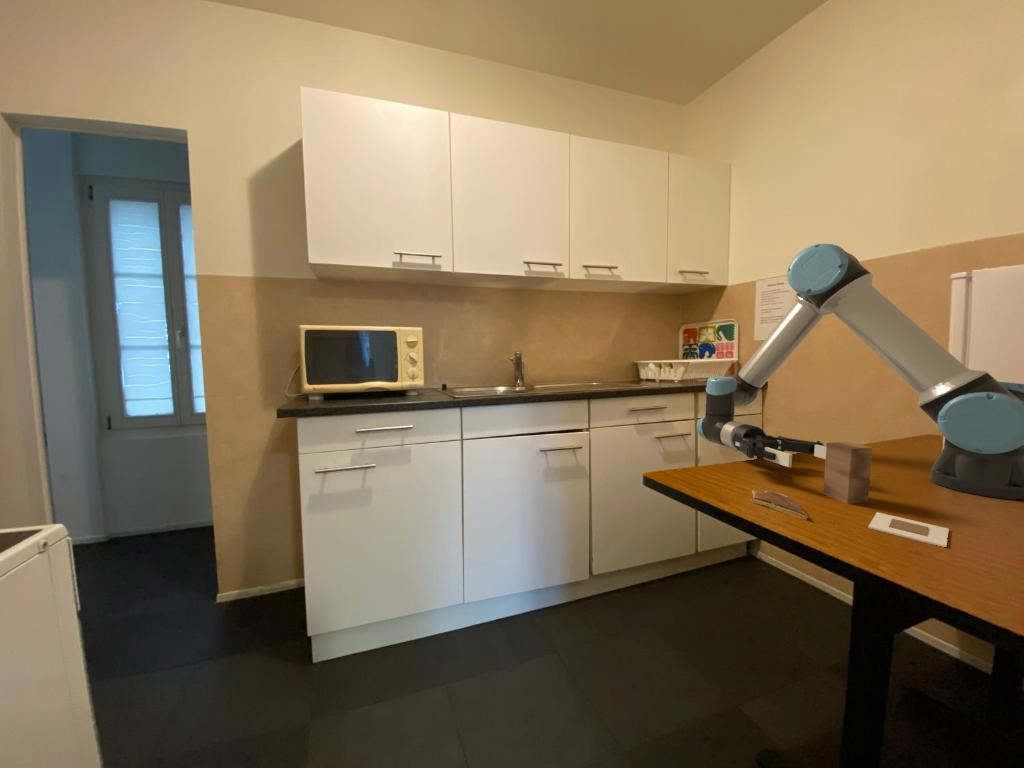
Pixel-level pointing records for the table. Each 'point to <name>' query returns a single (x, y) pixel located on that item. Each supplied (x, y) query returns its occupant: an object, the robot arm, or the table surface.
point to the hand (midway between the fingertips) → (817, 459)
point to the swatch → (910, 529)
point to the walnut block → (847, 472)
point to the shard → (778, 503)
